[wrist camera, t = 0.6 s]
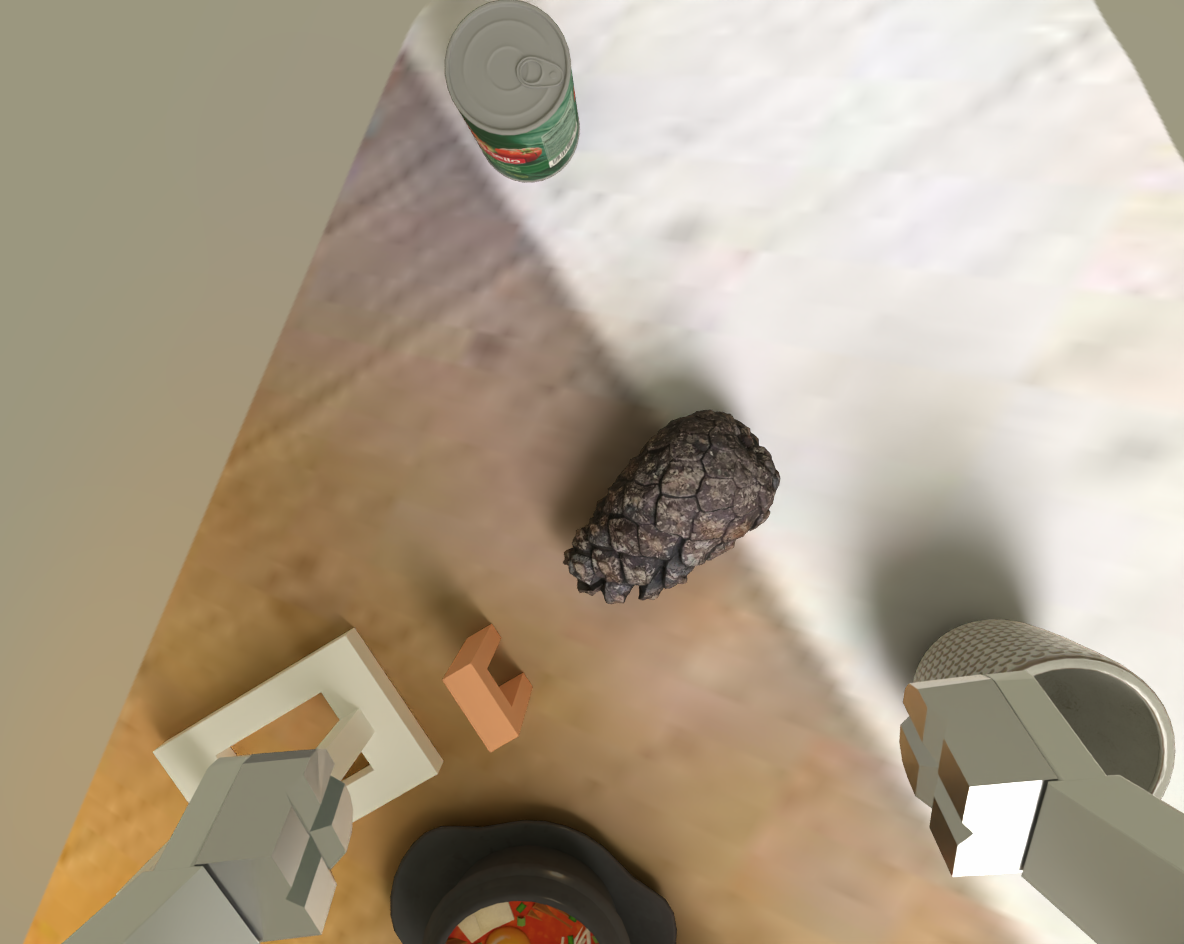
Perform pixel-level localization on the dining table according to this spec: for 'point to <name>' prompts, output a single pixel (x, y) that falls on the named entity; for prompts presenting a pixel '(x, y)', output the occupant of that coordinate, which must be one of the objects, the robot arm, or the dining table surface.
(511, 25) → the canned tomato
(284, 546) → the dining table surface
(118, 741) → the dining table surface
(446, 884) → the casserole
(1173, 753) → the planter
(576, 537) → the pine cone
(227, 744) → the toilet paper holder
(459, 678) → the orange block
